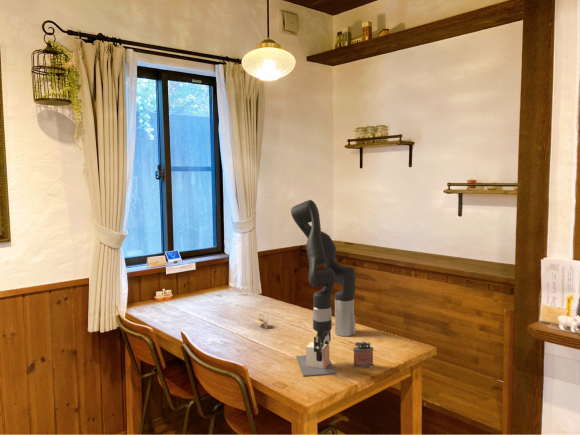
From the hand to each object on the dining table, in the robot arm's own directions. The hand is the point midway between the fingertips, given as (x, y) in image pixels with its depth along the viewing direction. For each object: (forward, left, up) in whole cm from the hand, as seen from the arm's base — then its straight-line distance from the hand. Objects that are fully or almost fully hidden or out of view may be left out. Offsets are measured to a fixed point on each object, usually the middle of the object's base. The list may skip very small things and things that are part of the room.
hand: (322, 356), depth 179 cm
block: (+5, -3, 0) cm, 6 cm away
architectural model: (+20, -52, -5) cm, 56 cm away
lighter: (-16, +2, -4) cm, 17 cm away
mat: (+3, -2, -4) cm, 5 cm away
